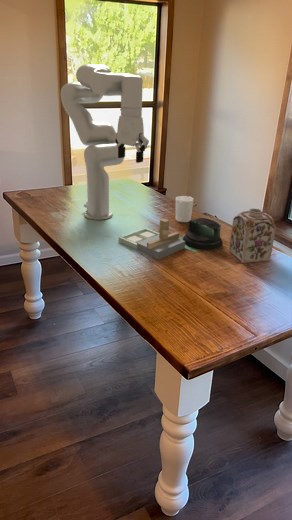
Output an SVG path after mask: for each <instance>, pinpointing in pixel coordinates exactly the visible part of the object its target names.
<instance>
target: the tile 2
mask: <svg viewBox="0 0 292 520" xmlns="http://www.w3.org/2000/svg"><path fill="white" fill-rule="evenodd" d="M154 236H155V234H153V233H150V232H144V233H141V234H139V238H142V239H144V240H146V239H149V238H151V237H154Z"/></svg>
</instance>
